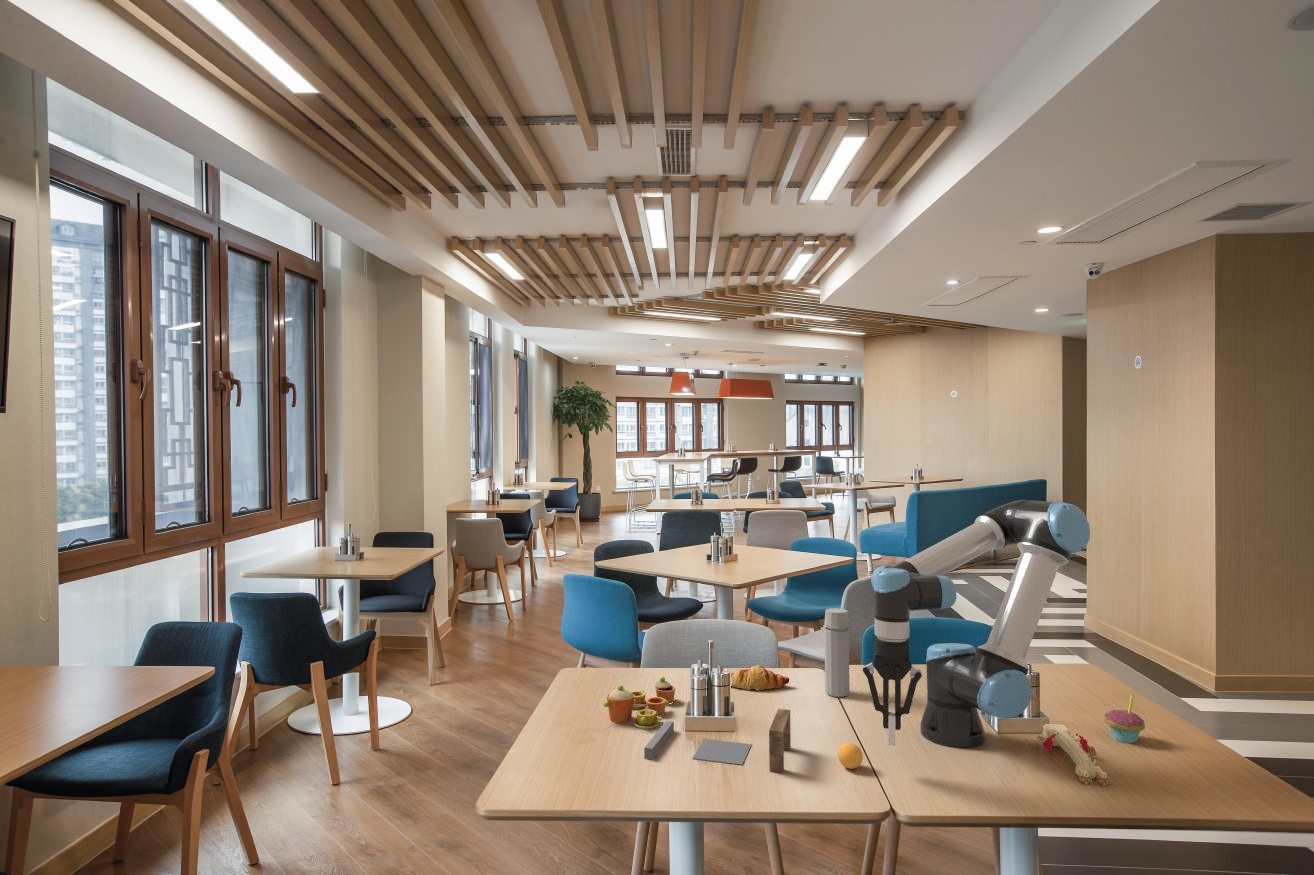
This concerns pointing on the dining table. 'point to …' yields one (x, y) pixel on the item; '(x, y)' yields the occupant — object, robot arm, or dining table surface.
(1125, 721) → the cupcake
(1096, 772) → the bone
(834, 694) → the water bottle
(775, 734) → the bridge
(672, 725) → the stopper
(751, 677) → the croissant
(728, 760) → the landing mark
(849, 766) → the ball
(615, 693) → the toy tea set
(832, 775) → the dining table surface
